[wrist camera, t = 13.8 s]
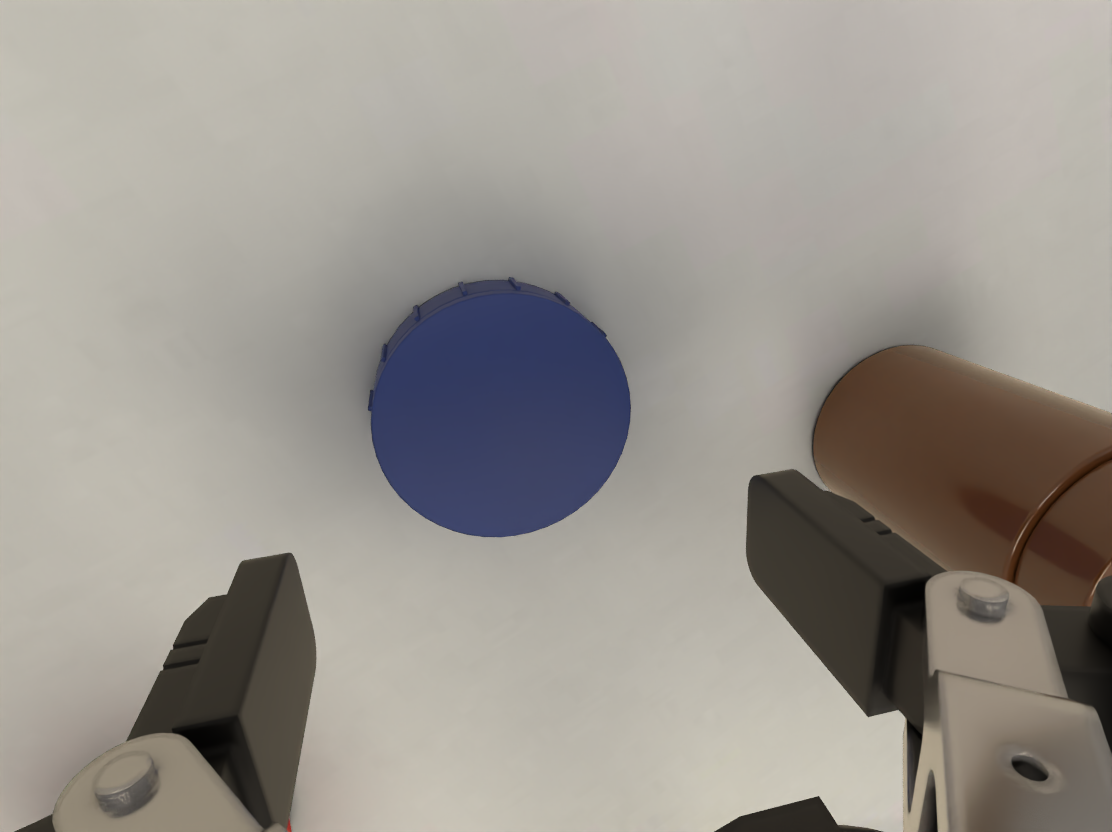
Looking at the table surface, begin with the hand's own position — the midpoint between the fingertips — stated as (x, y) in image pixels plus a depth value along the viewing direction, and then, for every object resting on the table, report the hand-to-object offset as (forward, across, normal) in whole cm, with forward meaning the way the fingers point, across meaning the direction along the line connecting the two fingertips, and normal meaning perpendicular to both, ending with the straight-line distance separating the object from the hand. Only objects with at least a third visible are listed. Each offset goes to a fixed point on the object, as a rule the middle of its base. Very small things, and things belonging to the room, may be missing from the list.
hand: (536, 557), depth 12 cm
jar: (+6, -12, +2) cm, 14 cm away
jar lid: (+5, 0, -1) cm, 5 cm away
